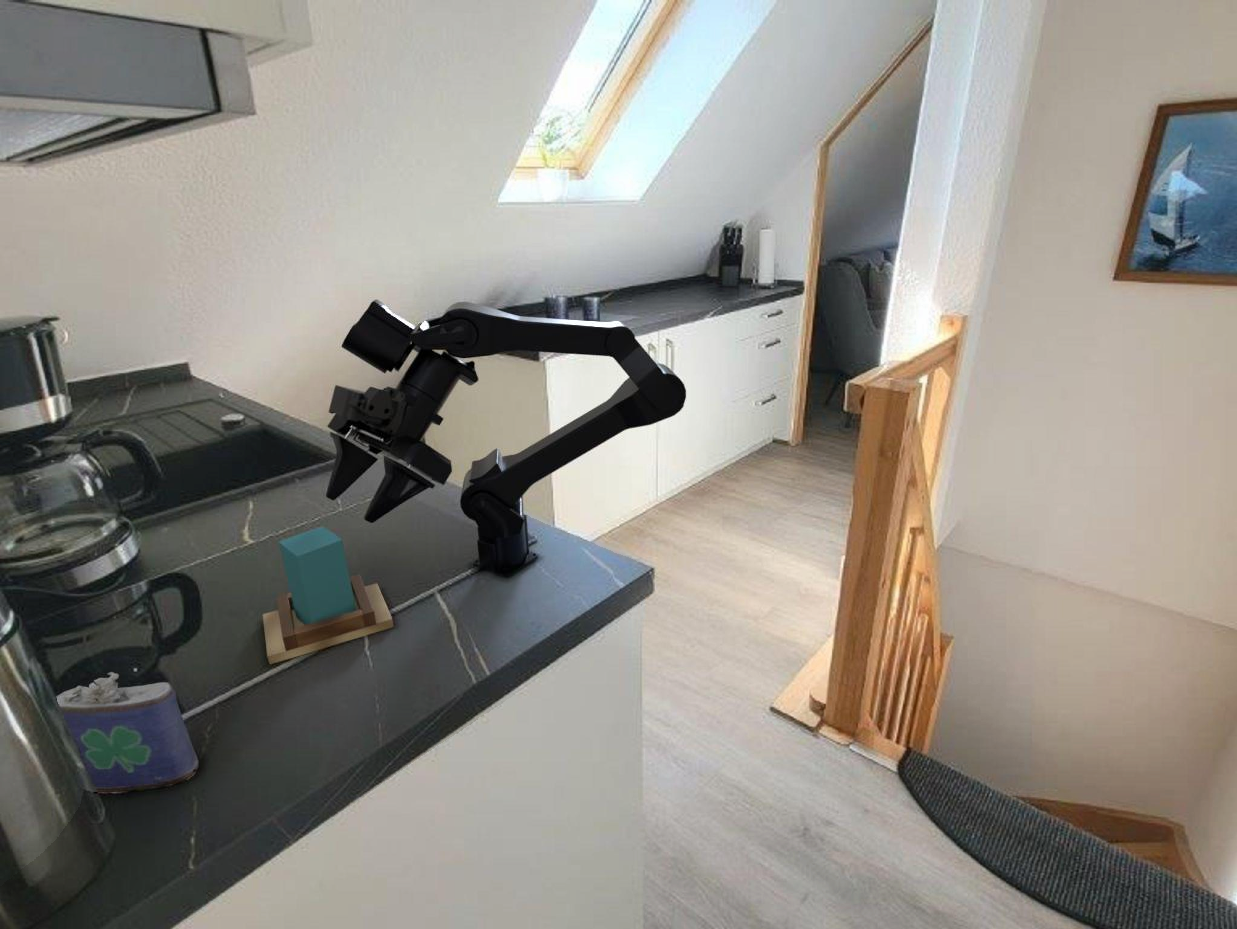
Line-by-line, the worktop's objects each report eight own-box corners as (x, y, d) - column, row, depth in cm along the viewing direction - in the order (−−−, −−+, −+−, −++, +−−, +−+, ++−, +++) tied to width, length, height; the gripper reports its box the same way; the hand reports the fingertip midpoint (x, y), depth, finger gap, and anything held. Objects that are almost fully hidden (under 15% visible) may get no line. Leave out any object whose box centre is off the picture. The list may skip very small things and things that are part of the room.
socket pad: (378, 590, 83) (374, 569, 82) (394, 628, 75) (390, 606, 74) (264, 621, 77) (258, 600, 76) (269, 666, 69) (263, 643, 68)
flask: (205, 760, 58) (171, 661, 54) (188, 787, 55) (151, 686, 51) (95, 769, 57) (53, 670, 53) (72, 797, 54) (26, 695, 50)
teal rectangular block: (337, 599, 79) (322, 525, 75) (357, 615, 76) (342, 539, 72) (296, 617, 76) (278, 541, 72) (314, 634, 73) (296, 556, 69)
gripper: (329, 346, 78) (252, 458, 74) (413, 368, 66) (326, 502, 62) (398, 396, 86) (332, 498, 83) (484, 423, 74) (411, 545, 71)
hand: (347, 509), depth 74 cm, fingers open, 9 cm apart
